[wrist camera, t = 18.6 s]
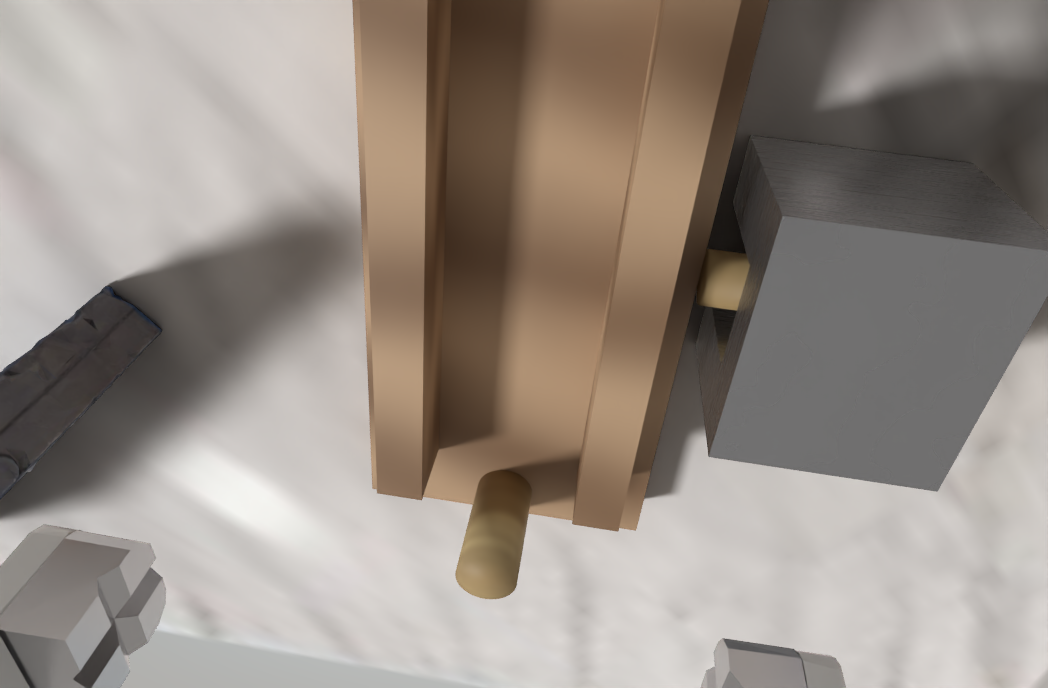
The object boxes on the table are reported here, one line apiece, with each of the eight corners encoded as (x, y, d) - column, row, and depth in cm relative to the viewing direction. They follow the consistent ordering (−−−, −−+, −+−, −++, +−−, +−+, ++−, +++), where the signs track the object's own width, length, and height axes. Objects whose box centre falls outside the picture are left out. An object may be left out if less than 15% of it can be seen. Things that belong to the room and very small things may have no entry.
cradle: (363, -248, 17) (261, -286, 12) (1041, -181, 16) (1203, -196, 11) (384, 461, 29) (336, 573, 25) (766, 521, 28) (790, 649, 24)
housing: (750, 135, 20) (782, 216, 16) (972, 163, 20) (1071, 253, 15) (695, 344, 24) (708, 456, 20) (880, 370, 24) (937, 491, 19)
